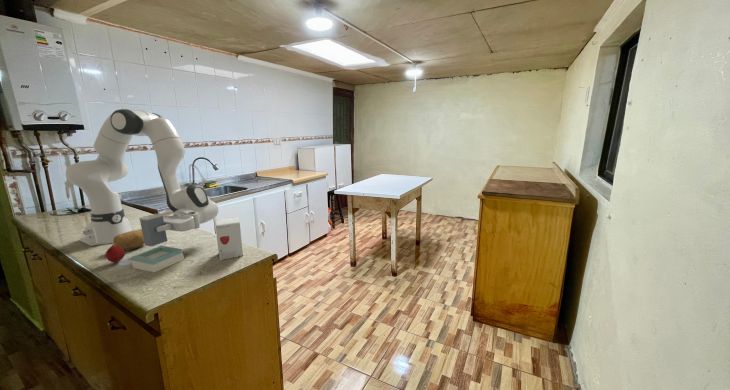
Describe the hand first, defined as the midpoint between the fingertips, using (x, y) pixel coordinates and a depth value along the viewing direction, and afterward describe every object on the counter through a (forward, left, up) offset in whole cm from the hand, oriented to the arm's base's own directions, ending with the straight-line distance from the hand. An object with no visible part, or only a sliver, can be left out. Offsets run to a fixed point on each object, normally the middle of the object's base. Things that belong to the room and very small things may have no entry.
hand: (151, 229), depth 111 cm
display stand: (0, +1, -15) cm, 15 cm away
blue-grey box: (0, +1, -6) cm, 6 cm away
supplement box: (+21, +17, -15) cm, 31 cm away
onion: (-17, -4, -15) cm, 23 cm away
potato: (-27, +9, -15) cm, 32 cm away
